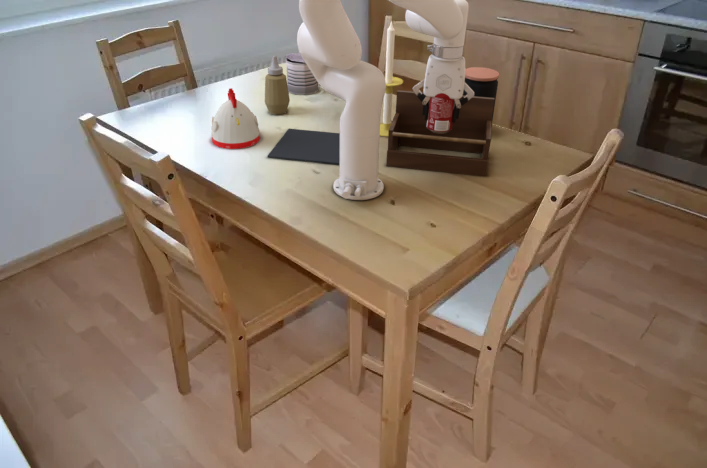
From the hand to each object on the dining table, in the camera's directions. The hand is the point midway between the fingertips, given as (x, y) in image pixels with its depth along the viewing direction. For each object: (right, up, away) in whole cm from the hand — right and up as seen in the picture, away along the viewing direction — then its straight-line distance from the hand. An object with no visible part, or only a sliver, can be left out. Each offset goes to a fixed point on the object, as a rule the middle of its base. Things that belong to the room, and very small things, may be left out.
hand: (440, 118), depth 155 cm
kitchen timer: (-58, -3, +16) cm, 60 cm away
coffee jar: (+14, +1, +24) cm, 28 cm away
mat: (-33, -6, +12) cm, 36 cm away
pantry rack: (0, -10, +7) cm, 12 cm away
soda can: (0, -3, +2) cm, 3 cm away
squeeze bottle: (-48, +9, +35) cm, 60 cm away
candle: (-13, +1, +24) cm, 27 cm away
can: (-41, +21, +54) cm, 71 cm away
